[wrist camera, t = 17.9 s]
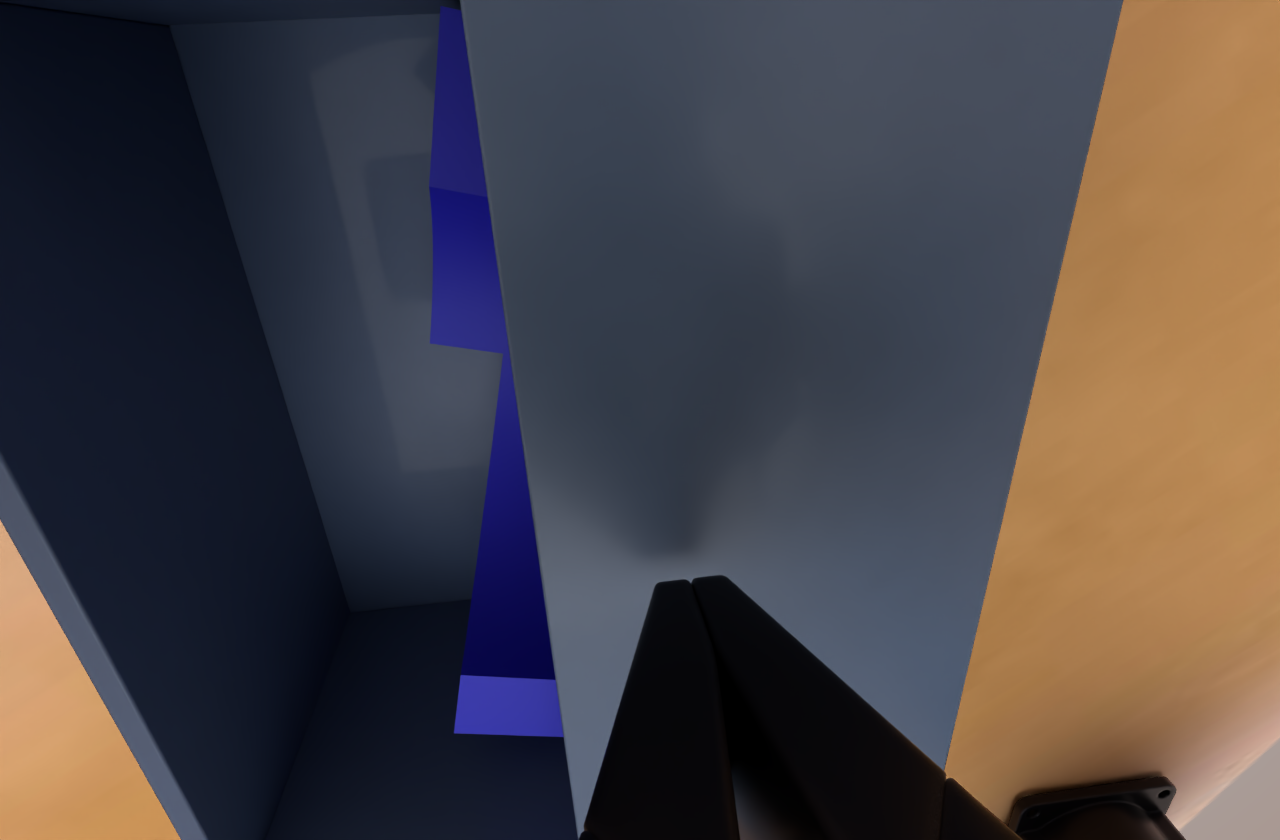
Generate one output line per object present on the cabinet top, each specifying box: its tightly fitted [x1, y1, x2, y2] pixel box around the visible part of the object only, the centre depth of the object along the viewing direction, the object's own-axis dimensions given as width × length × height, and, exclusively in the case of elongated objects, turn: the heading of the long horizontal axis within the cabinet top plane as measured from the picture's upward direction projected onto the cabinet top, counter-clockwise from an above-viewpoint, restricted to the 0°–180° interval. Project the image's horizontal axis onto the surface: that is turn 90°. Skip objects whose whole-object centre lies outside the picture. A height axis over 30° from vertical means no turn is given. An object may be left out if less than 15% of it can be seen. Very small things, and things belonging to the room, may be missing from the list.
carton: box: [0, 0, 578, 840], centre depth 13 cm, size 13×15×8 cm
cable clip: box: [429, 6, 564, 737], centre depth 13 cm, size 12×4×6 cm, turn 169°
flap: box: [460, 0, 1123, 840], centre depth 9 cm, size 6×15×1 cm, turn 3°
